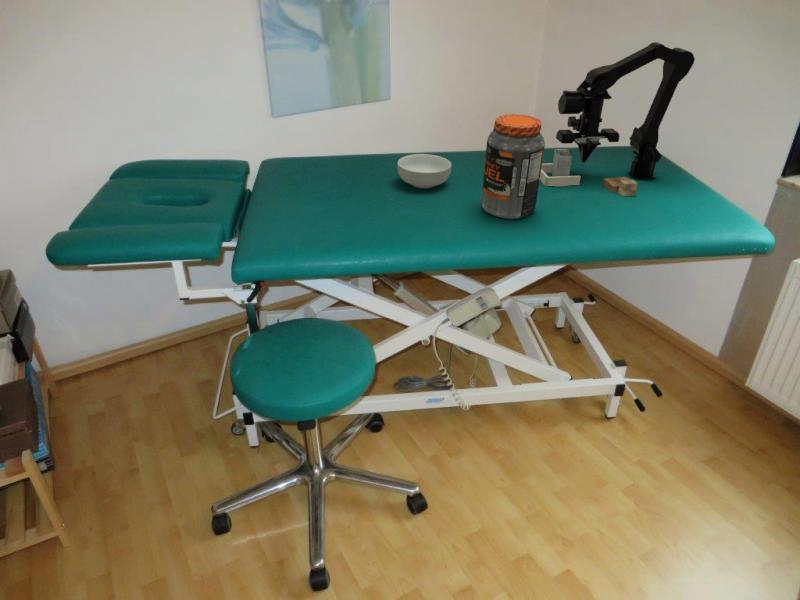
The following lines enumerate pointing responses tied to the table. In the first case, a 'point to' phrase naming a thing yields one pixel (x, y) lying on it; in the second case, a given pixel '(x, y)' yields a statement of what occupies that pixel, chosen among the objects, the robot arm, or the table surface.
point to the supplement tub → (513, 166)
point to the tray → (559, 179)
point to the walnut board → (613, 183)
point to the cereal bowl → (424, 170)
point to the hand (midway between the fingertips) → (582, 162)
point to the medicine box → (561, 163)
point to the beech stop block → (627, 188)
